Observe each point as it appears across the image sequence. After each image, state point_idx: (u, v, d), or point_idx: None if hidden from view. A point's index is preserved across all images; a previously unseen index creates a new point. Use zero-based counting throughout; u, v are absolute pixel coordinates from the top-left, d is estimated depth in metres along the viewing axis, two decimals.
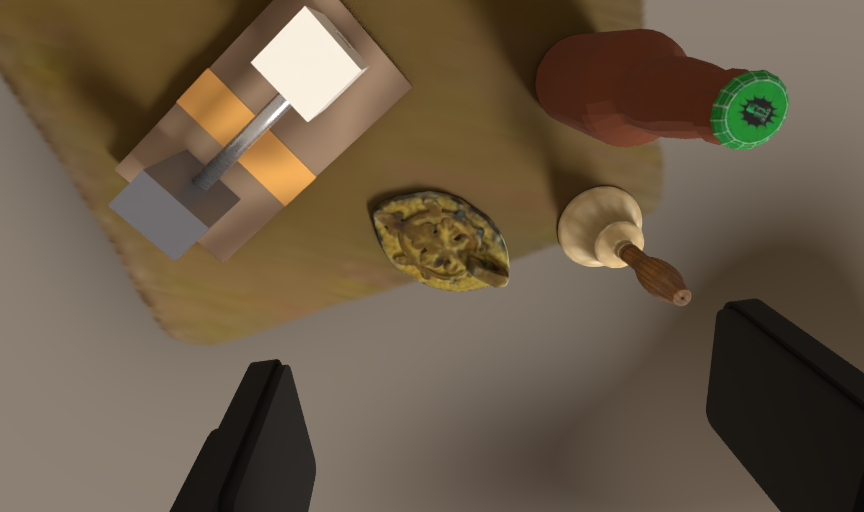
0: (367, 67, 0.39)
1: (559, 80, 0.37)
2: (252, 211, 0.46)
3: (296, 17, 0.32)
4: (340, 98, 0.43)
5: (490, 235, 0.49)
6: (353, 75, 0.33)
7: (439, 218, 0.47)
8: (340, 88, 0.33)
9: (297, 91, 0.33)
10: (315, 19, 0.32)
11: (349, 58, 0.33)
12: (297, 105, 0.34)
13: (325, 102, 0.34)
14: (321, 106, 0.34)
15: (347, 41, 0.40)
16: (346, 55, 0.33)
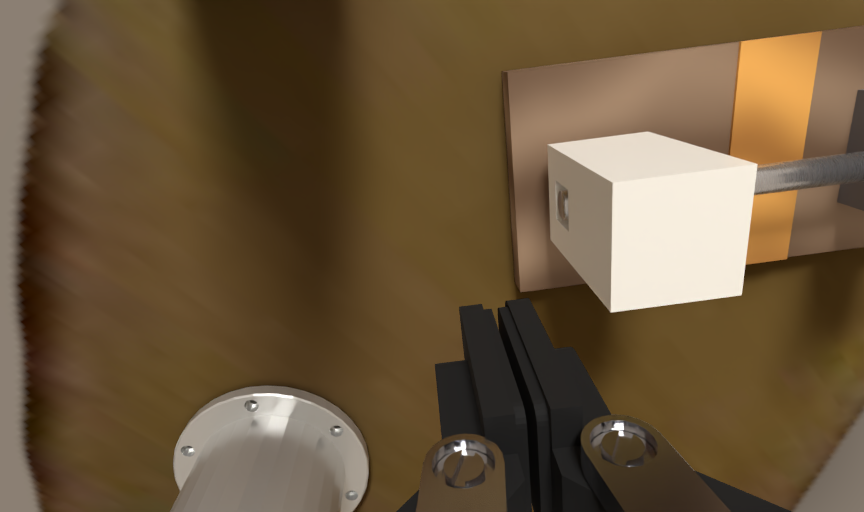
0: (561, 152, 0.23)
1: None
2: None
3: (633, 306, 0.19)
4: (611, 126, 0.26)
5: None
6: (630, 183, 0.17)
7: None
8: (665, 178, 0.17)
9: (725, 218, 0.18)
10: (612, 289, 0.19)
11: (614, 211, 0.18)
12: (745, 199, 0.18)
13: (704, 174, 0.17)
14: (715, 172, 0.17)
15: (550, 194, 0.25)
16: (614, 218, 0.18)
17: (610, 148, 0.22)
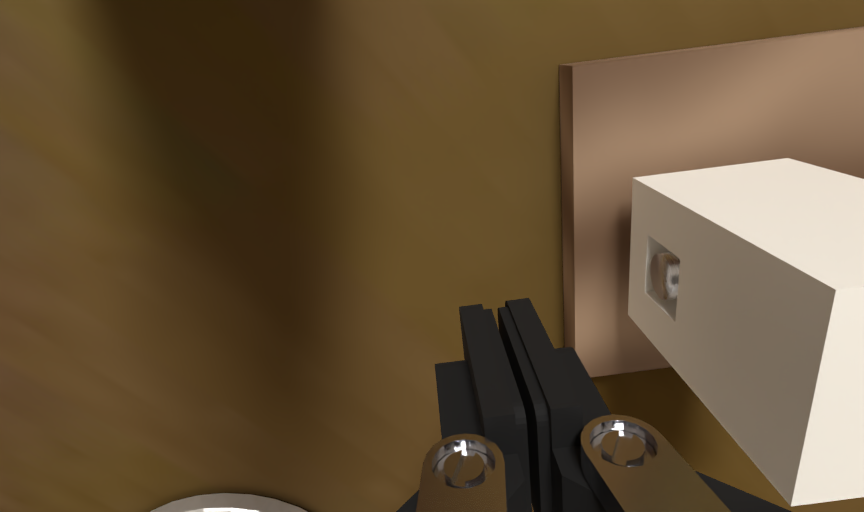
0: (667, 196, 0.14)
1: None
2: None
3: (833, 497, 0.10)
4: (724, 148, 0.17)
5: None
6: None
7: None
8: None
9: None
10: (800, 470, 0.10)
11: (828, 340, 0.09)
12: None
13: None
14: None
15: (634, 252, 0.17)
16: (828, 353, 0.09)
17: (751, 191, 0.14)
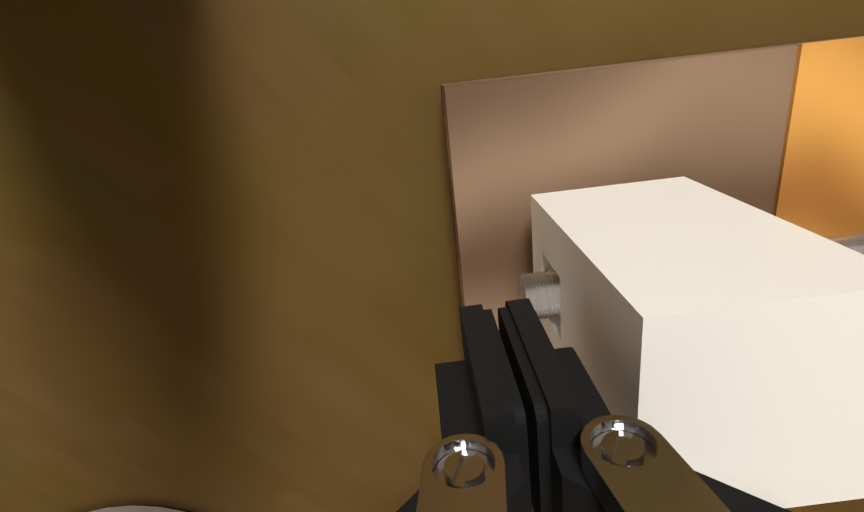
0: (550, 215, 0.14)
1: None
2: None
3: None
4: (603, 168, 0.17)
5: None
6: (677, 319, 0.09)
7: None
8: (746, 310, 0.09)
9: (853, 378, 0.09)
10: None
11: (644, 366, 0.09)
12: None
13: (824, 302, 0.09)
14: (846, 298, 0.09)
15: (535, 267, 0.17)
16: (645, 379, 0.09)
17: (629, 211, 0.14)
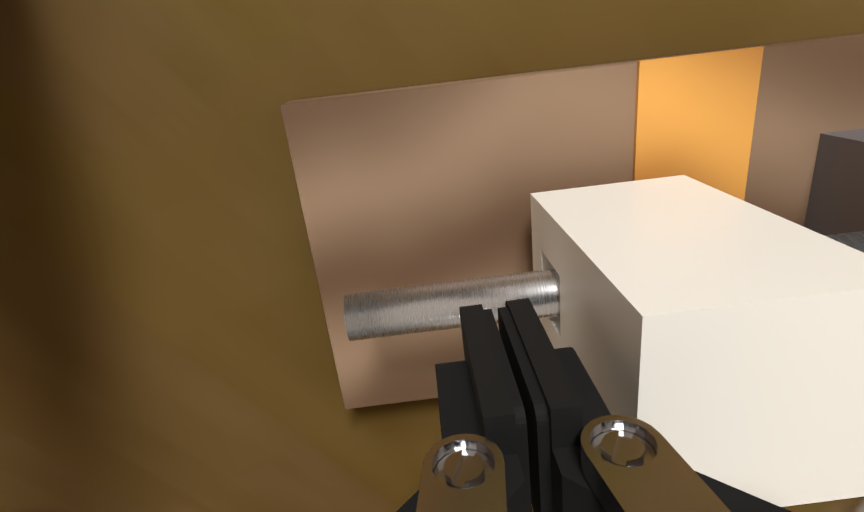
0: (549, 213, 0.14)
1: None
2: (830, 89, 0.17)
3: None
4: (452, 185, 0.17)
5: None
6: (677, 317, 0.09)
7: None
8: (746, 308, 0.09)
9: (853, 376, 0.09)
10: None
11: (643, 365, 0.09)
12: None
13: (824, 300, 0.09)
14: (846, 297, 0.09)
15: (535, 266, 0.17)
16: (644, 378, 0.09)
17: (629, 210, 0.14)
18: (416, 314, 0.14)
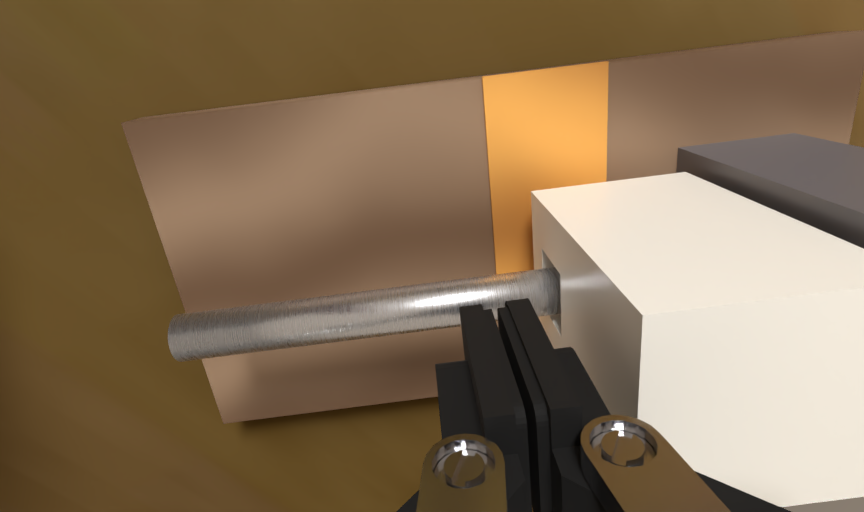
0: (550, 212, 0.14)
1: None
2: (684, 104, 0.17)
3: None
4: (306, 201, 0.17)
5: None
6: (677, 316, 0.09)
7: None
8: (747, 307, 0.09)
9: (856, 375, 0.09)
10: None
11: (643, 364, 0.09)
12: None
13: (827, 298, 0.09)
14: (849, 295, 0.09)
15: (536, 264, 0.17)
16: (645, 377, 0.09)
17: (629, 207, 0.14)
18: (240, 335, 0.14)
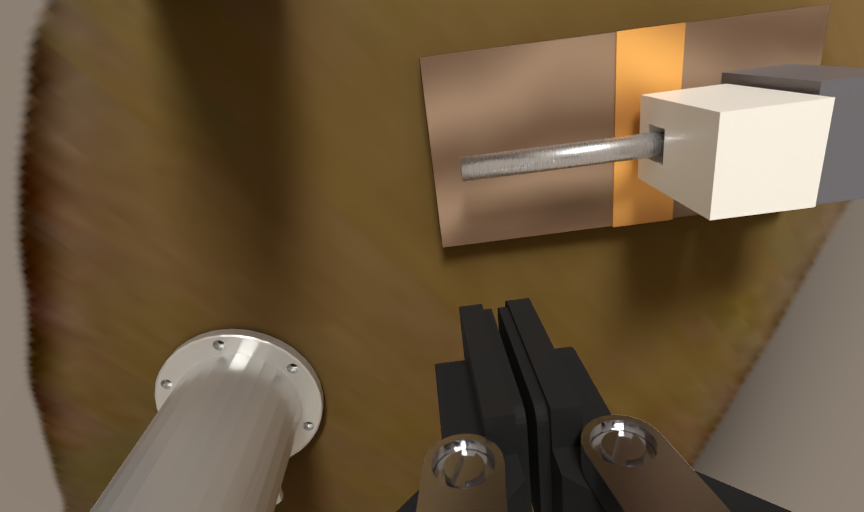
0: (658, 98, 0.27)
1: None
2: (726, 46, 0.30)
3: (728, 215, 0.24)
4: (511, 104, 0.31)
5: None
6: (734, 113, 0.22)
7: None
8: (761, 109, 0.22)
9: (806, 142, 0.23)
10: (712, 200, 0.24)
11: (719, 135, 0.22)
12: (823, 126, 0.22)
13: (793, 105, 0.22)
14: (801, 104, 0.22)
15: None
16: (719, 141, 0.22)
17: (700, 94, 0.27)
18: (498, 164, 0.28)
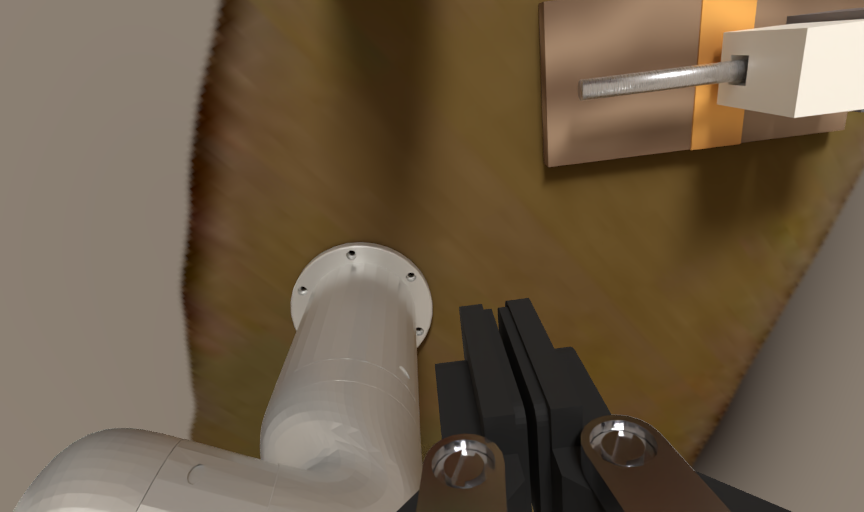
0: (743, 31, 0.34)
1: None
2: None
3: (808, 114, 0.31)
4: (615, 42, 0.37)
5: None
6: (818, 28, 0.29)
7: None
8: (839, 25, 0.29)
9: None
10: (797, 101, 0.30)
11: (805, 47, 0.29)
12: None
13: (863, 23, 0.29)
14: None
15: None
16: (805, 51, 0.29)
17: (777, 27, 0.34)
18: (613, 84, 0.34)
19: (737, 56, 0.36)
